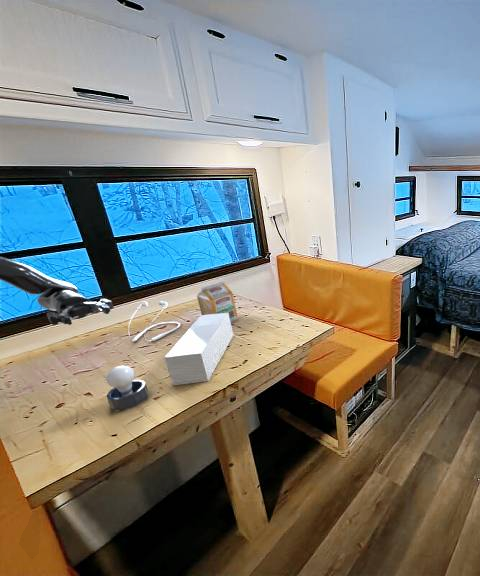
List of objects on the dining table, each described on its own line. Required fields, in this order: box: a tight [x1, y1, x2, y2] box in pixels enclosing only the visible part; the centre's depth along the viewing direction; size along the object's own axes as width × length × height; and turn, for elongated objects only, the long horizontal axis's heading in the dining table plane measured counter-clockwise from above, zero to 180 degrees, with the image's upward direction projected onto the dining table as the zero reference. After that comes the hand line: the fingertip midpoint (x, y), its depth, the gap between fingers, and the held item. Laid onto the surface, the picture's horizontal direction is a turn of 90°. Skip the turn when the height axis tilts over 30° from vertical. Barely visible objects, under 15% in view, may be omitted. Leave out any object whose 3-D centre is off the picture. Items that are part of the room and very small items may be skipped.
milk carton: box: [196, 280, 239, 324], centre depth 140 cm, size 11×11×19 cm
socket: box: [106, 379, 150, 412], centre depth 93 cm, size 9×9×4 cm
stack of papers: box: [164, 313, 234, 386], centre depth 113 cm, size 32×11×11 cm, turn 11°
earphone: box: [127, 300, 181, 343], centre depth 134 cm, size 14×17×18 cm
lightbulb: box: [106, 365, 136, 397], centre depth 91 cm, size 6×6×11 cm
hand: (89, 315), depth 90 cm, fingers open, 8 cm apart
